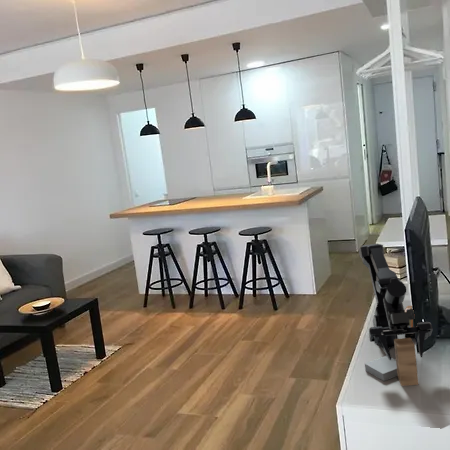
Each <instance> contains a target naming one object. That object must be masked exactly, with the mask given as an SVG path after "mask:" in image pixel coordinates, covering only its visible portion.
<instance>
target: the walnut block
mask: <svg viewBox="0 0 450 450" xmlns="http://www.w3.org/2000/svg"><path fill="white" fill-rule="evenodd" d="M394 345H395V347H394V352H395V360H396V365H397V374H398V376H397V380H398V382H399V383H400V386H401V387H403V386H405V387H406V386H407V387H408V386H418V385H419V377H418V376H419V375H418V366H417V357H416V347H415V346H416V345H415V342H413V340H412V338H411V337H405V338H398V339H394Z"/></svg>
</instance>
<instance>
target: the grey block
mask: <svg viewBox="0 0 450 450" xmlns="http://www.w3.org/2000/svg"><path fill="white" fill-rule="evenodd" d="M364 370H365V371H366V372H367V373H369V374H371V375H372V376H374V377H376V378H377V379H379V380H381V381H383V382H386V381H387V380H390V379H393V378H396V377H398V374H397V365H396V358H393V357H391V360H389V358H388V357H387V355H386V354H385V355H384V356H382V357H379V358H375V359H372V360H371V361H368V362H364Z"/></svg>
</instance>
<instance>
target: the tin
mask: <svg viewBox="0 0 450 450" xmlns="http://www.w3.org/2000/svg"><path fill="white" fill-rule="evenodd" d="M412 306H413V305H407V306H405V308H404V311H405V312H407V311H406V310H407V309H412ZM409 321H410V325H409V326H408V327H413V320H409ZM404 335H405V336H407V335H406V334H404Z"/></svg>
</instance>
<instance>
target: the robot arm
mask: <svg viewBox="0 0 450 450" xmlns="http://www.w3.org/2000/svg"><path fill="white" fill-rule="evenodd" d="M358 254H359V259H360V258H361V261H362V264H363V265H364V266H365V267H367V269H368V272H369V276H370V280H371V284H372V289H373V292H374V296H375V297H374V298H375V301H376V306H375V310H374V315H373V317H372V325H373V326H370V327H369V329H368V338H369V342H372V343H374V344H375V345H378V346H379V347H380V348H381V349H382V350H383V352H384V353H385V356H386V355H387V357H388V358H389V360H391V358H392V357H391V356H392V355H391V353H390V350H389V349H392V348H395V345H394V339H399V337H398V336H401V335H405V334H416V336H417V338H416V341H417V345H418V346H417V347H418V351H419V352H418V354H419V357H420V358H423V353H424V345H425V344H424V343H425V340H427V339H428V337H431V335H432V332H433V330H434V328H433V324H432V323H431V322H429V321H422V322H418V323H417V326H416V327H408V326H409V325H410V321H409V320H413V319H415V314H414V310H413V309H407V310H406V311H407V312H405V311H404V310H405V307H404V304H403V303H404V300H405V297H406V294H407V286H406V285H405V283H404V282H403V281H402V280H401V279H400V278H399V277H398V276H397V273H396V272H395V271H393V270H392V269H390V267H389V265H388V262H387V260H386V257H385V248H384V244H381V243H372V244H364V245H363V244H362V245H361V247H360V248H358Z"/></svg>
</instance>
